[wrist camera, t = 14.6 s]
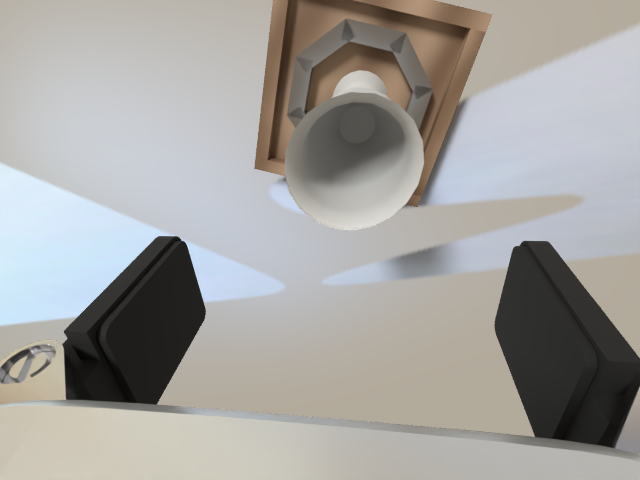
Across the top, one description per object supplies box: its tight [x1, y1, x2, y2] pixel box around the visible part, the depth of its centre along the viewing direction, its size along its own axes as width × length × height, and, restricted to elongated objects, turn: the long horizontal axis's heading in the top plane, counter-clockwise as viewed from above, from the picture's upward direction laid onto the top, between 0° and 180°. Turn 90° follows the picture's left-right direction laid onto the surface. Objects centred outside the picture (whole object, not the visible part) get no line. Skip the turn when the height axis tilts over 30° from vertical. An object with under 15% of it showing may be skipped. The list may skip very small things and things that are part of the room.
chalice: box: [284, 70, 424, 230], centre depth 26 cm, size 7×7×18 cm
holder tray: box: [255, 0, 492, 207], centre depth 33 cm, size 17×17×2 cm
